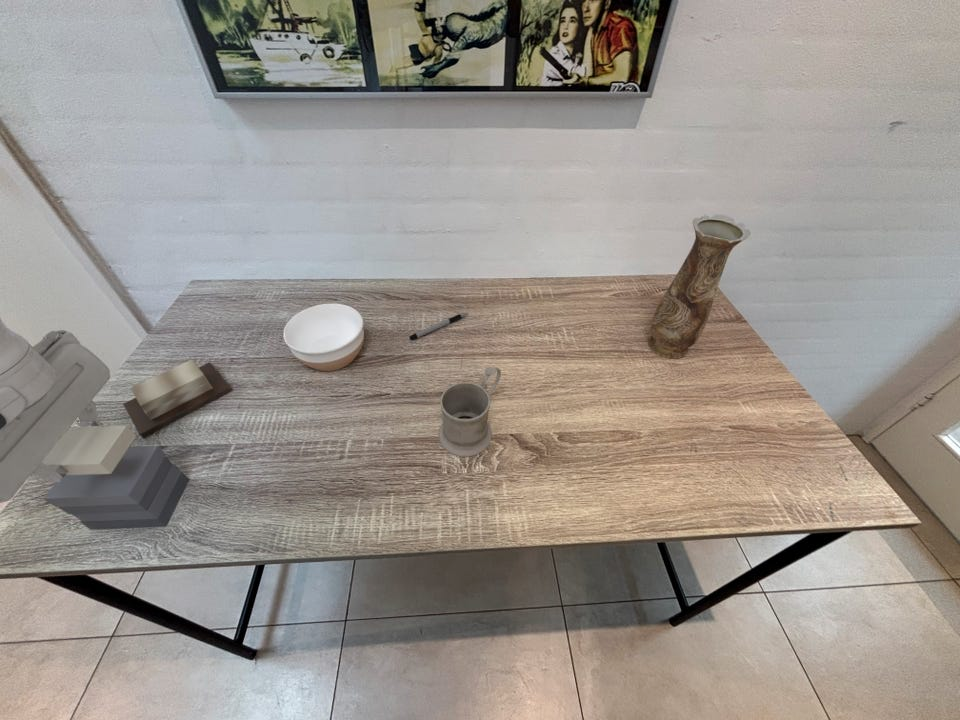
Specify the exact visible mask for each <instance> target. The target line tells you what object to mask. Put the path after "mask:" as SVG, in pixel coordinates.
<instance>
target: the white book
mask: <svg viewBox="0 0 960 720" xmlns="http://www.w3.org/2000/svg"><path fill="white" fill-rule="evenodd" d="M136 437H137V435H136V434H135V433H134V432H133V431H132V430H131V429H130V428H129V426H128V425H103V426H80V427H77V426H71V427H70V428H69V429H68V430H67V431H66V433H65V434H64V435H63V436H62V438H61V439H60V440H59V441H58V442H57V444H56V445H55V446H54V447H53V448H52V450H51V451H50V452H49V453H48V455H47V456H46V457H45V458H44V459H43V461H42V462H43V463H44V464H45V465H52V466H53V465H61V466H63V467H64V468H65V469H66V470H68V472H67V474H66V475H89V474H111V473H112V472H113V470H114V469H115V467H116V466H117V464H118V463H119V461H120V460H121V458H122V457H123V455H124V454H125V452H126V451H127V449H128V448H129V447H131V445H132V443H133V442H134V440H135V439H136Z"/></svg>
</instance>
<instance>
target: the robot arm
mask: <svg viewBox="0 0 960 720" xmlns="http://www.w3.org/2000/svg"><path fill="white" fill-rule="evenodd" d="M110 379H111V372H110V368H109V367H108V366H107V365H106V364H105V363H104V362H103V361H102V360H101V359H100V357H98V356H97V355H96V354H95V353H94V352H92V351H91V350H90V349H88V348H87V347H86V346H84V345H83V344H81V342H80V340H78V338H77V336H76V335H74V334H73V333H72V332H70V331H68V330H64V329H59V330H51V331H49V332H48V333H46V334H45V335H44V336H43V337H42V339H41V340H40V341H38V342H37V343H36V344H34V345H33V346H32V344H31V343H30V342H29V341H28V340H27V339H26V338H24V337H23V336H22V335H20V334H19V333H18V332H15V331H13V330H12V329H11V328H9V327H8V326H7V325H5V323H4V322H3V320H2V318H1V317H0V504H1V503H6V502H9V501H10V500H12V498H13V497H14V496H15V495H16V494H17V493H18V491H19V490H20V489H21V487H22V486H23V485H24V484H25V482H26V481H27V480H28V479H29V478H30V477H39V478H40V479H42V480H43V481H44V482H47V483H56V482H61V481H62V479H63V478H64V476H65V475H66V474H67V472H68V470H66V469H65V468H64V467H63V466H61V465H53V466H52V465H45V464H44V463H43V462H42V461H43V459H44V458H45V457H46V456H47V455H48V453H49V452H50V451H51V450H52V448H53V447H54V446H55V445H56V444H57V442H58V441H59V440H60V439H61V438H62V436H63V435H64V434H65V433H66V431H67V430H68V429H69V428H70V427H72V425H74V423H75V421H76V420H77V419H79V423H78V425H77V426H76V427H80V426H104V423H103V422H102V421H101V420H100V419H99V418H98V411H97V404H96V402H95V401H94V399H95V398H96V397H97V395H98V394H99V392H101V390H102V389H103V388H104V387H105V386H106V384H107V383H108V382H109V380H110Z"/></svg>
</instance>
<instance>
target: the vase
mask: <svg viewBox="0 0 960 720" xmlns="http://www.w3.org/2000/svg"><path fill="white" fill-rule="evenodd" d="M692 225H693V229H694V233H695V238H694V242H693V244H692V246H691V249H690V250H689V252H688V254H687V256H686V257H685V259H684V260H683V263H682V264H681V266H680V268H679V270H678V272H677V273H676V275H675V277H674V278H673V280H672V282H671V283H670V285H669V287H668V288H667V290H666V292H665V293H664V295H663V297H662V298H661V300H660V301H659V303H658V305H657V307H656V309H655V312H654V313H653V317H652V320H651V324H650V333H651V335H650V336H649V338H648V339H647V345H648V347H649V348H650V349H651V351H653V352H654V353H655V354H656V355H658V356H660V357H663V358H666V359H674V360H675V359H682V358H684V357H685V356H686V355H687V354H688V352H689V348H690V347H692V346H694V345H695V343H697V341H698V340H699V339H700V337H701V335H702V333H703V332H704V329H705V328H706V325H707V323H708V320H709V317H710V314H711V311H712V308H713V304H714V300H715V298H716V294H717V291H718V288H719V285H720V281H721V278H722V276H723V273H724V269H725V266H726V265H727V261H728V259H729V256H730V254H731V252H732V251H733V249H734V248H735V247H736V246H737V245H738V244H740V243H741V242H743V241H744V240H746V239H748V238H749V237H750V236H751V231H750V229H748V228H745V227H746V226H745V223H743V222H738V223H737V222H735V219H734V218H732V217H731V216H728V215H726V214H725V215H724V214H714V215H713V216H711V217H710V216H709V215H706V214H704V215H702V216H700V218H699V217H694V218H693V220H692Z"/></svg>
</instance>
